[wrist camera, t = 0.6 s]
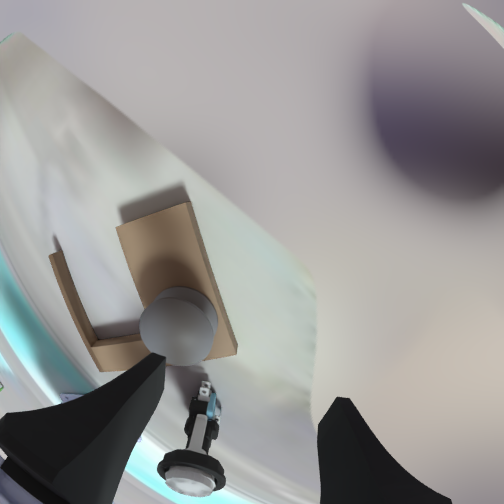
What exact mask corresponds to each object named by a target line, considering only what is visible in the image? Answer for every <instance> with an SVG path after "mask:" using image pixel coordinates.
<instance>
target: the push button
mask: <svg viewBox="0 0 504 504" xmlns="http://www.w3.org/2000/svg"><path fill="white" fill-rule="evenodd" d="M204 384H207V385H208V387H205V386H204ZM215 403H216V393H212V391H210V382H207V381H202V387H200V391H198V394H197V397H192V400H191V403H190V407H189V418H188V419H187V421H186V424H185V428H184V431H185V433H186V435H188V441H187V445H186V449H183V450H181V449H177V450H174V451H172V452H169V453H166V454H165V455H164V459H163V460H162V461H161V462H159V464H158V467H157V472H158V473H159V475H160V476H161V477H162V478H163V479H164V480H166V484H167V486H168V487H169V488H171V489H172V490H174V491H176V492H178V493H181V494H184V495H188V496H194V497H205V496H209V495H210V494H211V493H212V491H217V490H220V489H222V488H223V487H224V486H225V483H226V478H225V476H224V469H223V467H222V466H221V464H220V462H219V461H218V460H216V459H215V458H213V457H211V456H209V455H208V451H209V448H210V446H211V441H212V439H214V440H216V439H217V437H218V432H219V425H218V423H220V419H221V412H222V407H221V410H220V416H215Z"/></svg>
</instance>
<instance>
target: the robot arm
mask: <svg viewBox="0 0 504 504" xmlns="http://www.w3.org/2000/svg"><path fill="white" fill-rule="evenodd" d="M165 367H166V357H165V356H162V355H159V354H156V353H154V352H152V353H150V354H148V355H147V356H146V357H145V358H143V359H142V360H141V361H139V362H138V363H137V364H135V365H134V366H133V367H131V368H130V369H128V370H127V371H125V372H124V373H122V374H121V375H119V376H118V377H116V378H115V379H113V380H112V381H110V382H108V383H106V384H105V385H103V386H101V387H99V388H97V389H96V390H94V391H92V392H90V393H87V394H85V395H79V394H63V393H61V394H60V398H61V399H62V401H63V402H62V403H61V404H58V405H55V406H51V407H46V408H42V409H37V410H32V411H23V412H13V413H6V414H5V415H4V416H3V417H2V418H1V419H0V448H1V449H2V450H3V451H4V452H5V454H6V455H7V456H8V457H7V458H6V460H4V459H3V458H2V457H1V456H0V504H114V502H113V499H114V497H115V494H116V491H117V488H118V485H119V482H120V479H121V477H122V474H123V472H124V469H125V466H126V464H127V462H128V459H129V457H130V454H131V452H132V450H133V448H134V446H135V444H136V442H141V441H142V439H141V437H140V436H141V434H142V432H143V430H144V429H145V427H146V425H147V423H148V422H149V420H150V418H151V416H152V415H153V413H154V411H155V409H156V407H157V405H158V403H159V400H160V398H161V395H162V393H163V390H164V382H165ZM317 448H318V459H319V470H320V482H321V497H320V504H452V501H451V499H450V498H447V497H445V496H443V495H441V494H439V493H437V492H435V491H434V490H432V489H430V488H428V487H427V486H425V485H424V484H423V483H421V482H420V481H418V480H417V479H416V478H415V477H413V476H412V475H411V474H410V473H408V472H407V471H406V470H405V469H404V468H403V467H402V466H401V465H400V464H399V463H398V462H397V461H396V460H395V459H394V458H393V457H392V456H391V455H390V454H389V453H388V452H387V451H386V449H385V448H384V447H383V445H382V444H381V443H380V441H379V440H378V439H377V438H376V436H375V435H374V433H373V432H372V431H371V429H370V428H369V426H368V425H367V423H366V422H365V421H364V419H363V418H362V416H361V415H360V413H359V411H358V410H357V408H356V407H355V406H354V404H353V403H352V401H351V400H350V398H342V397H336V399H335V400H334V402H333V403H332V405H331V407H330V408H329V410H328V411H327V413H326V414H325V415H324V417H323V419H322V420H321V421H320V423H319V424H318V436H317Z"/></svg>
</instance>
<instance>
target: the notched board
mask: <svg viewBox="0 0 504 504" xmlns="http://www.w3.org/2000/svg"><path fill="white" fill-rule="evenodd" d="M116 230H117V234H118V237H119V240H120V243H121V246H122V249H123V252H124V255H125V258H126V261H127V264H128V267H129V270H130V272H131V275H132V278H133V281H134V283H135V286H136V289H137V291H138V294H139V296H140V299H141V301H142V304H143V306H144V309H145V310H144V312H143V313H142V315H141V318H140V323H139V330H140V334H134V335H128V336H122V337H115V338H109V339H102V340H98V339H97V337H96V335H95V332H94V330H93V328H92V326H91V324H90V322H89V320H88V317H87V315H86V313H85V311H84V308H83V306H82V303H81V301H80V299H79V296H78V294H77V291H76V289H75V286H74V283H73V281H72V278H71V275H70V272H69V270H68V267H67V264H66V261H65V258H64V255H63V251H62V250H61V251H58V252H56V253H53V254H51V255H49V259H50V262H51V265H52V268H53V271H54V274H55V277H56V279H57V282H58V285H59V287H60V290H61V293H62V295H63V298H64V300H65V303H66V305H67V307H68V310H69V312H70V314H71V316H72V319H73V321H74V323H75V325H76V327H77V329H78V332H79V334H80V336H81V338H82V340H83V342H84V344H85V346H86V348H87V349H88V351H89V353H90V355H91V357H92V359H93V361H94V362H95V364H96V366H97V368H98V369H99V371H100V372H111V371H125V370H128V369H130V368H131V367H133V366H134V365H135V364H137V363H138V362H139V361H141V360H142V359H143V358H145V357H146V356H147V355H148V354H150V353H152V352H154V353H156V354H159V355H162V356H165V357H166V366H172V365H176V366H190V365H194V364H197V363H199V362H201V361H205V360H211V359H217V358H222V357H227V356H233V355H236V354H237V347H238V344H237V341H236V339H235V336H234V333H233V330H232V328H231V325H230V322H229V319H228V316H227V313H226V310H225V308H224V305H223V302H222V299H221V296H220V293H219V290H218V287H217V284H216V281H215V278H214V275H213V272H212V269H211V266H210V262H209V259H208V256H207V253H206V250H205V247H204V244H203V240H202V237H201V234H200V231H199V227H198V224H197V221H196V217H195V214H194V211H193V207H192V204H191V202H185V203H182V204H179V205H176V206H173V207H170V208H167V209H164V210H162V211H159V212H156V213H153V214H150V215H147V216H145V217H142V218H139V219H136V220H134V221H131V222H128V223H126V224H123V225H120V226H118V227H116Z"/></svg>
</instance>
